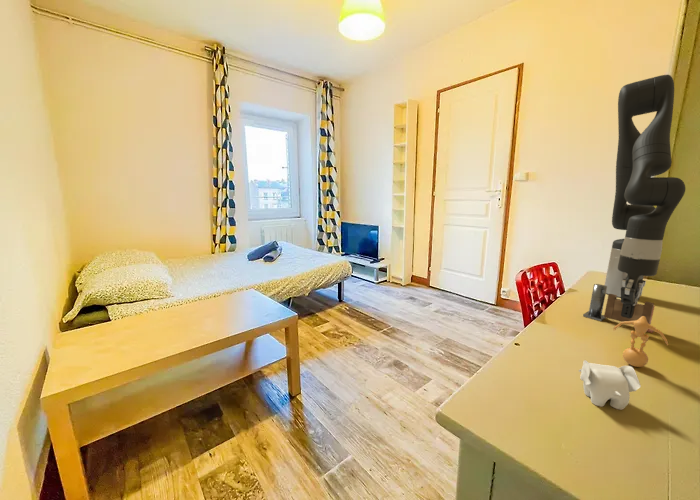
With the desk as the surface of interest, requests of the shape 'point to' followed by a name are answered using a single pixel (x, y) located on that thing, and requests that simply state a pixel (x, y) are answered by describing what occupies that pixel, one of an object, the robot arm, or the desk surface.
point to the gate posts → (601, 304)
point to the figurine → (638, 355)
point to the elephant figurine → (609, 384)
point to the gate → (615, 310)
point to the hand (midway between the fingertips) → (626, 316)
